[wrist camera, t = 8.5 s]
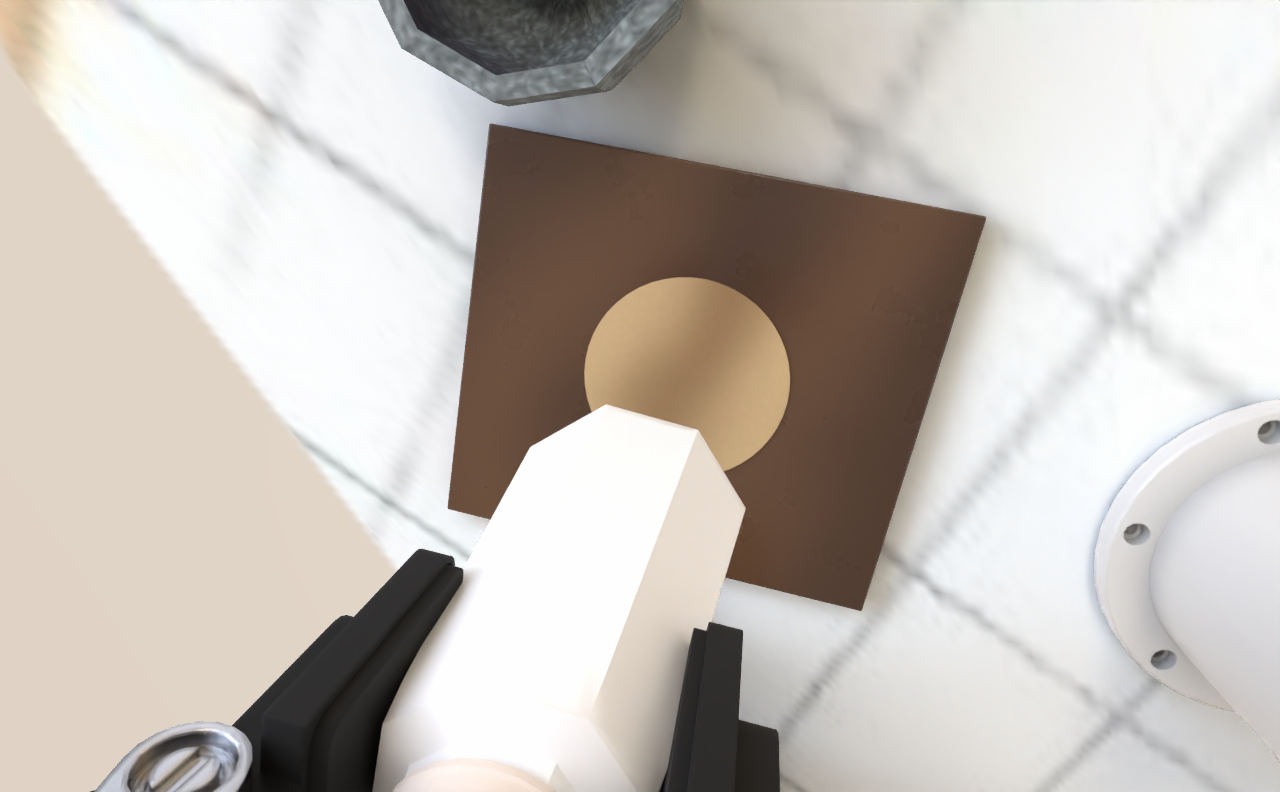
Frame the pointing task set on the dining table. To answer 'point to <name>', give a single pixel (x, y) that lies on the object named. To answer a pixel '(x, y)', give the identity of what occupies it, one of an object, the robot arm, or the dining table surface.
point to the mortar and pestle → (531, 42)
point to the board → (712, 337)
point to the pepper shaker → (571, 619)
